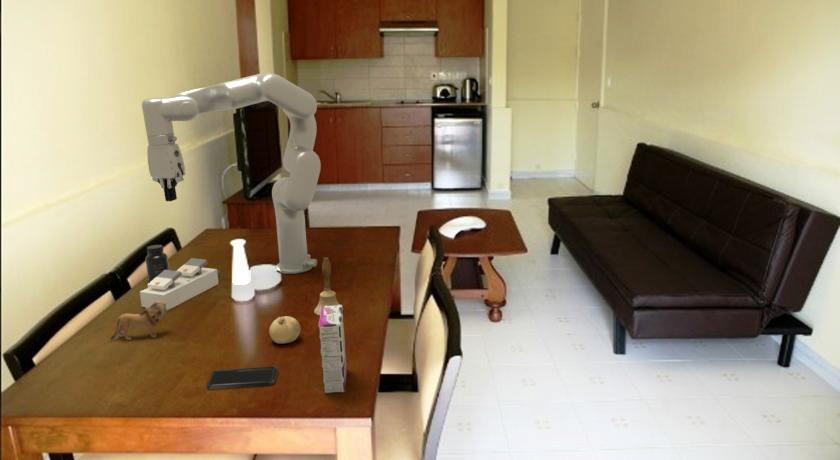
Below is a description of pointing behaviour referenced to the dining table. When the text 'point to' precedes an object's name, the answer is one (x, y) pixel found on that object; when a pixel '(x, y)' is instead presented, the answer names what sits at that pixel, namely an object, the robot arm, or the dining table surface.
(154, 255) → the supplement bottle
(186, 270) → the rocker
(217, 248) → the dining table surface
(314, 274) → the dining table surface
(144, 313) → the lion figurine
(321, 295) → the hand bell
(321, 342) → the candy bar box
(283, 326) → the onion
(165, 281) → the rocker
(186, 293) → the strip
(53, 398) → the dining table surface
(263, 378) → the phone
